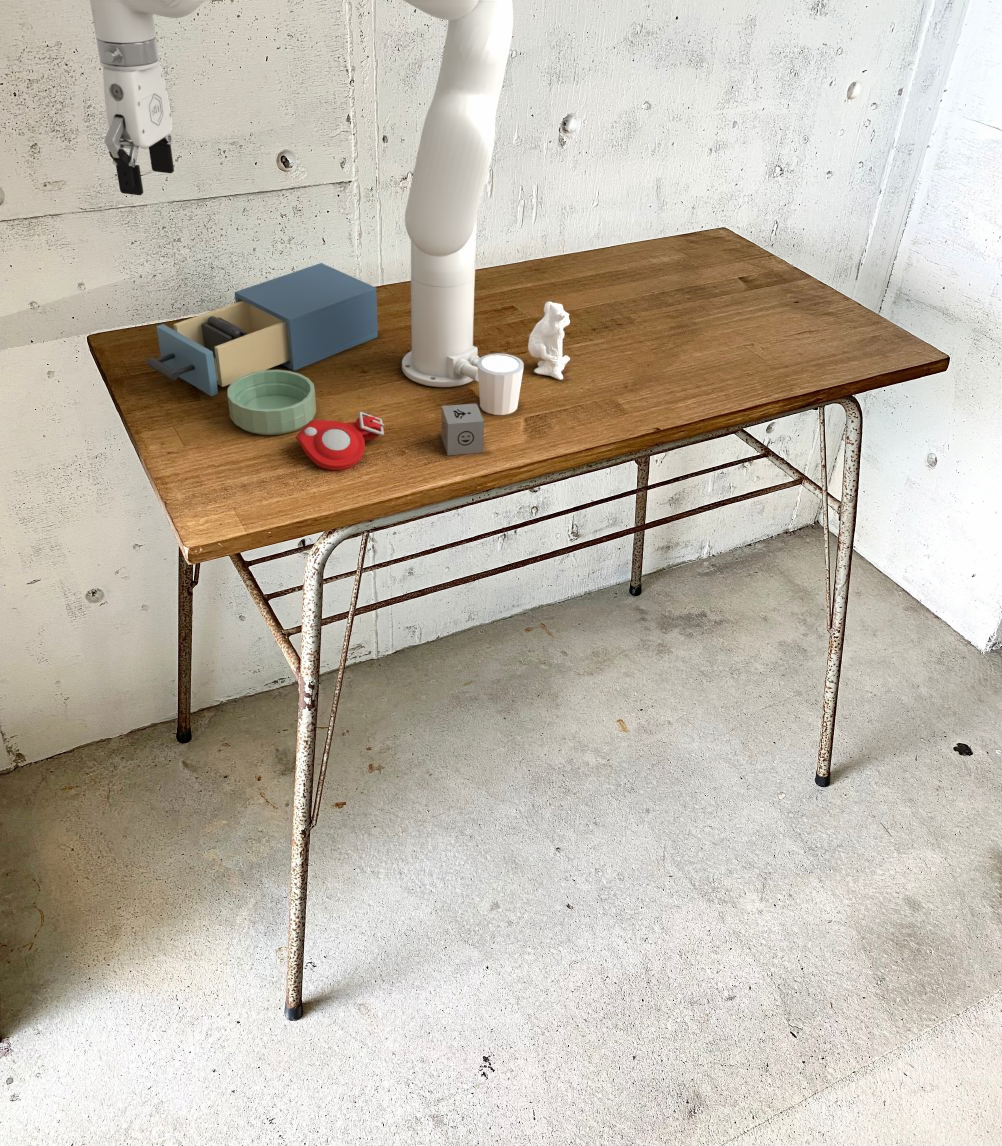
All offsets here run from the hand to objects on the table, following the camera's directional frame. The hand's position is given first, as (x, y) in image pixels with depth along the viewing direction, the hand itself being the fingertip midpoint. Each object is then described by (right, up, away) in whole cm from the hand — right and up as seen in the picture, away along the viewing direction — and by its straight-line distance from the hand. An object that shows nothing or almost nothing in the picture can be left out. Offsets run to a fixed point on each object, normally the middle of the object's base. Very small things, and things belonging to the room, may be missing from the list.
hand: (148, 182), depth 155 cm
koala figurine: (+58, -24, +18) cm, 65 cm away
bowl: (+17, -33, +4) cm, 37 cm away
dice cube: (+44, -37, 0) cm, 58 cm away
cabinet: (+19, -17, +23) cm, 35 cm away
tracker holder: (+28, -39, -3) cm, 48 cm away
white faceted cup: (+50, -30, +9) cm, 59 cm away
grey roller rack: (+8, -22, +13) cm, 27 cm away
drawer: (+7, -24, +12) cm, 28 cm away
